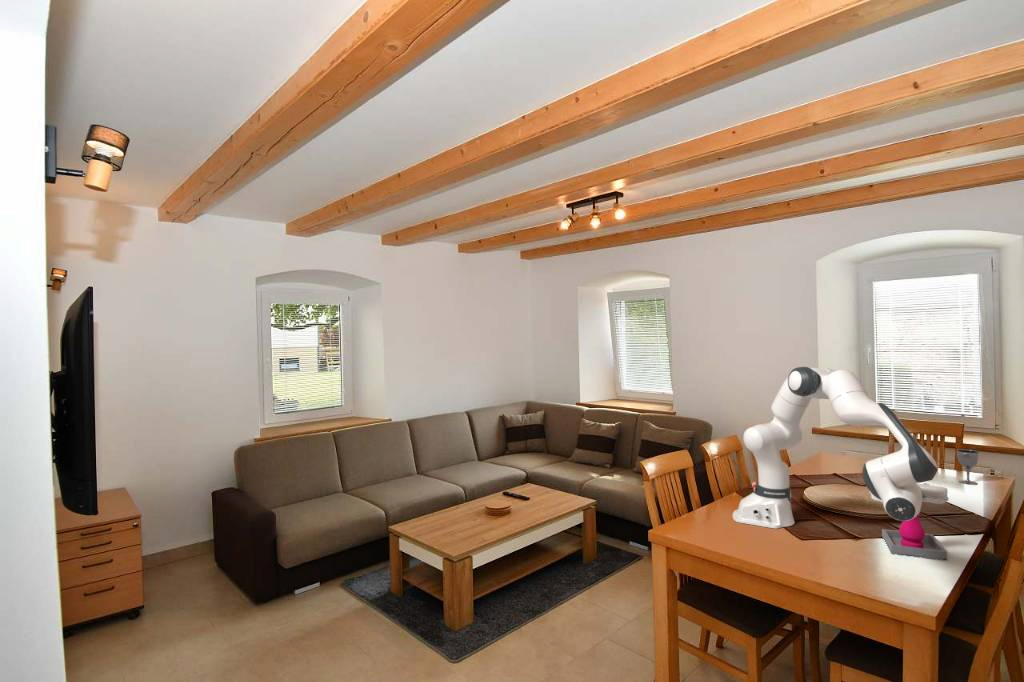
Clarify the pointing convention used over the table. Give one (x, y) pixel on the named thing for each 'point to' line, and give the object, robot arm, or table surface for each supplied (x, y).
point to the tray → (929, 550)
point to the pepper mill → (912, 533)
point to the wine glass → (968, 462)
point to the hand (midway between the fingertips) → (908, 483)
